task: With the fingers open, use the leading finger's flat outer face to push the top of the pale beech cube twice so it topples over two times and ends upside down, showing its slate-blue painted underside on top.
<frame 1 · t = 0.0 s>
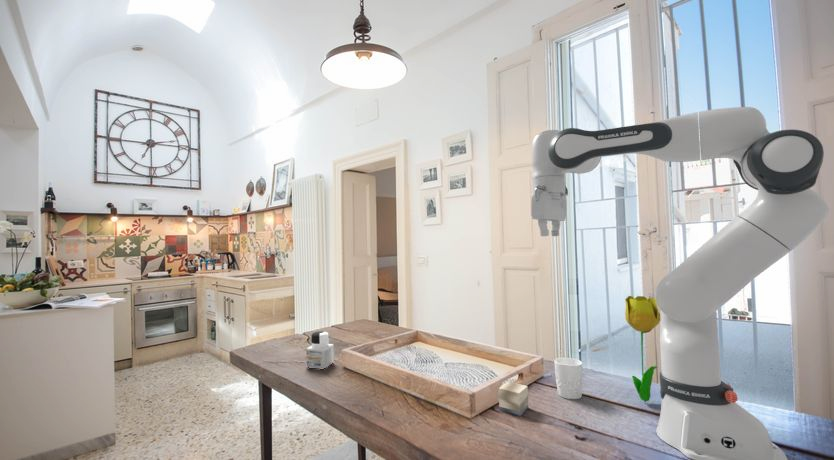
hand: (550, 236, 104), 48 cm above the table, fingers open, 8 cm apart
white cup: (569, 395, 110), on the table
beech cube: (513, 408, 102), on the table
container: (320, 366, 142), on the table
flower: (645, 404, 103), on the table
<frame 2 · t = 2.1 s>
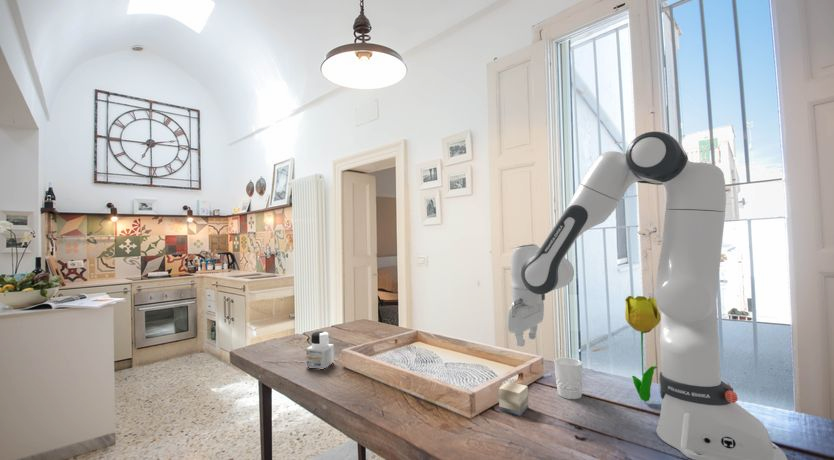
hand: (526, 342, 112), 16 cm above the table, fingers open, 8 cm apart
nothing on the table moved.
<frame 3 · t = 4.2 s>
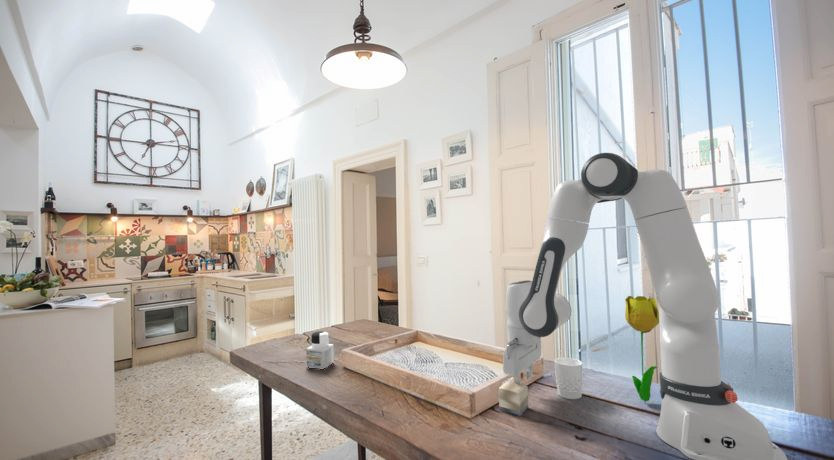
hand: (523, 382, 108), 5 cm above the table, fingers open, 6 cm apart
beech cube: (513, 408, 102), on the table, touching gripper
everything else where it was.
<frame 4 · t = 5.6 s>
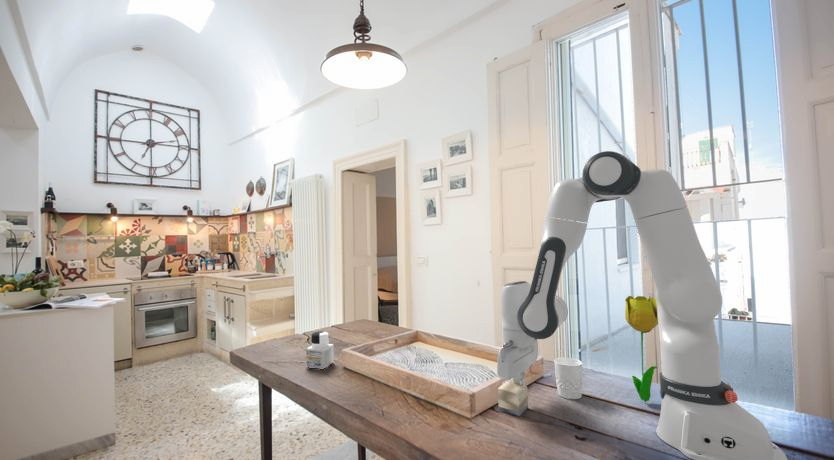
hand: (519, 385, 105), 5 cm above the table, fingers closed
nothing on the table moved.
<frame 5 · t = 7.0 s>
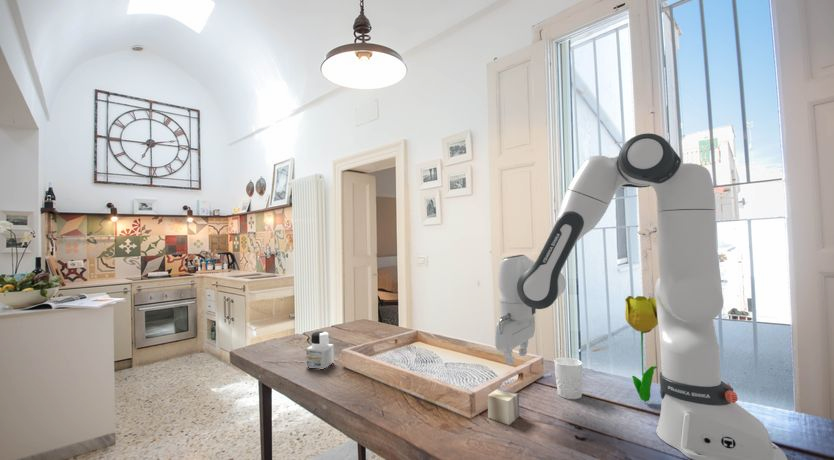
hand: (516, 359, 105), 13 cm above the table, fingers open, 8 cm apart
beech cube: (508, 401, 100), point 3 cm above the table, tilted 90°
everything else where it was.
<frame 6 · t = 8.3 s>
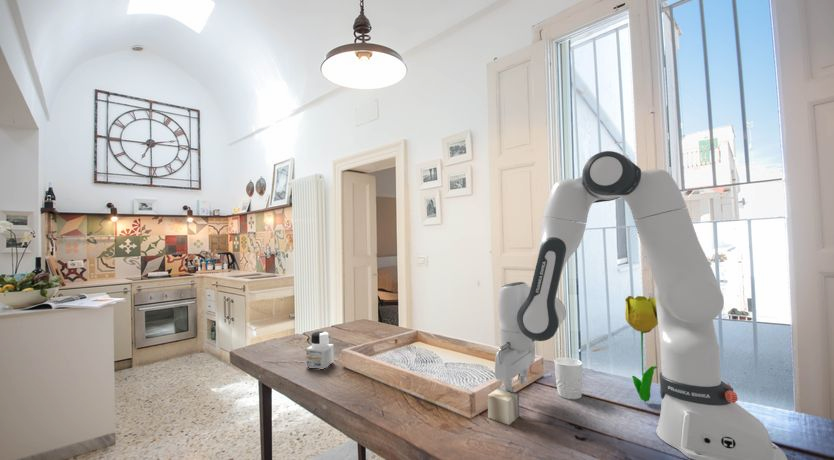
hand: (516, 387, 104), 5 cm above the table, fingers open, 8 cm apart
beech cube: (508, 401, 100), point 3 cm above the table, tilted 90°, touching gripper
everything else where it was.
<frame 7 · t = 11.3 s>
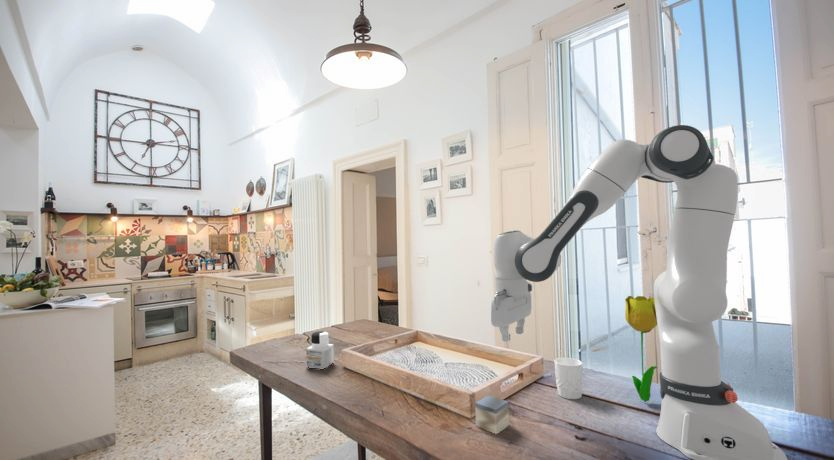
hand: (513, 337, 103), 20 cm above the table, fingers open, 8 cm apart
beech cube: (491, 402, 93), point 6 cm above the table, tilted 180°
everything else where it was.
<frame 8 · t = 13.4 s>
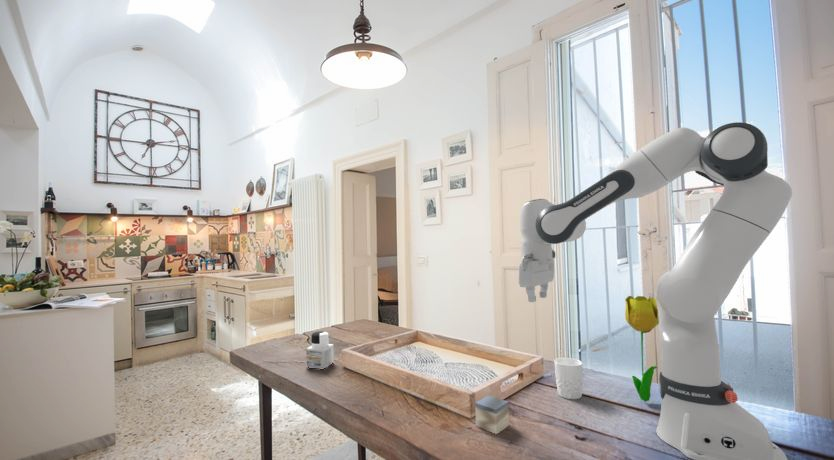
hand: (537, 299, 109), 29 cm above the table, fingers open, 8 cm apart
nothing on the table moved.
at the end: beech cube tilted 180°; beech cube point 5.9 cm above the table; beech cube inside the target area (0.7 cm from its centre), point 5.9 cm above the table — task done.
